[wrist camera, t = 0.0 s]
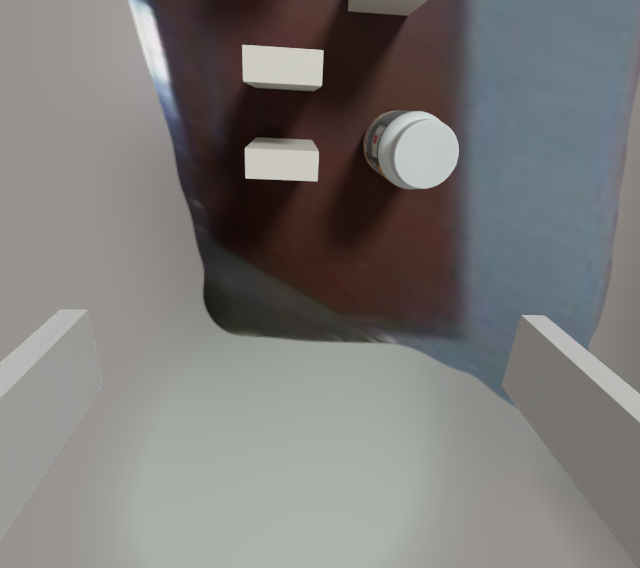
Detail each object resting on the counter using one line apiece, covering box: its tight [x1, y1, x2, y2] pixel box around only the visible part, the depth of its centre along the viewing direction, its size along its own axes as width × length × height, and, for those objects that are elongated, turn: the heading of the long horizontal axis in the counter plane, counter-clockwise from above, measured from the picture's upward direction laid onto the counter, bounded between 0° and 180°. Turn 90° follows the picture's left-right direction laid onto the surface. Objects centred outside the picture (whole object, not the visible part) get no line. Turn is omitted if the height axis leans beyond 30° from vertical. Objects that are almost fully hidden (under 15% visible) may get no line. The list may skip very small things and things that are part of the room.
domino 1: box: [242, 45, 324, 91], centre depth 30 cm, size 2×5×10 cm, turn 87°
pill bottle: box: [363, 111, 459, 189], centre depth 33 cm, size 6×6×10 cm
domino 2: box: [245, 137, 319, 181], centre depth 32 cm, size 2×5×10 cm, turn 87°
